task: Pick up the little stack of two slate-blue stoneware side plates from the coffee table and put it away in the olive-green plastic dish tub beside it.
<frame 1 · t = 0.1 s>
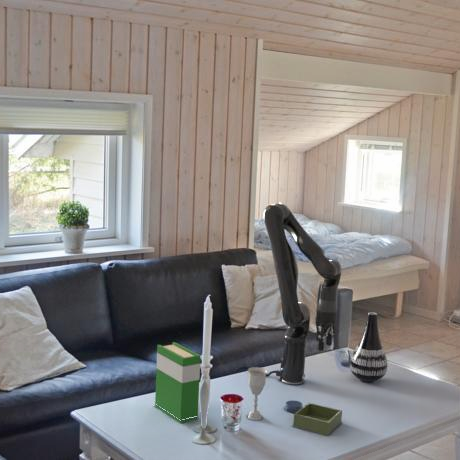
hand: (324, 347, 319), 17 cm above the table, tool pointing down, fingers open, 8 cm apart
tub: (317, 424, 284), on the table
vase: (367, 380, 333), on the table
hardback book: (175, 413, 288), on the table
chalice: (254, 417, 288), on the table
plates: (293, 409, 297), on the table
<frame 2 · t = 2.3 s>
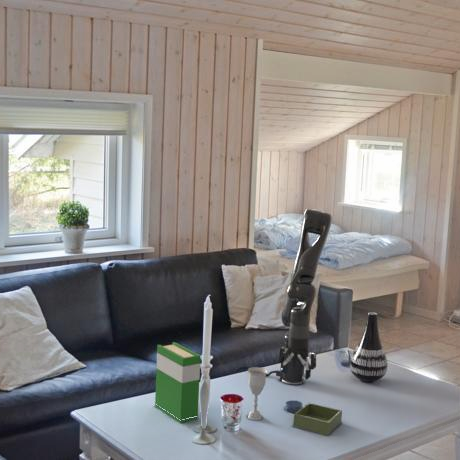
hand: (296, 376, 295), 13 cm above the table, tool pointing down, fingers open, 8 cm apart
nothing on the table moved.
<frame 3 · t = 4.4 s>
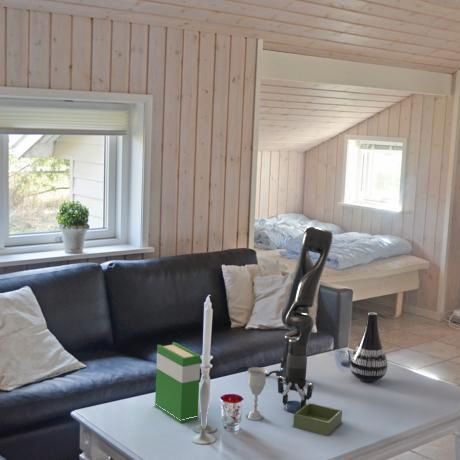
hand: (293, 406, 297), 1 cm above the table, tool pointing down, fingers closed on plates, 6 cm apart
plates: (293, 409, 297), on the table, touching gripper
everything else where it was.
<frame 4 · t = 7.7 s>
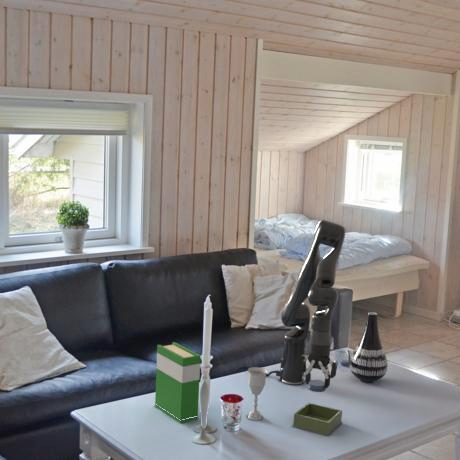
hand: (317, 385, 283), 14 cm above the table, tool pointing down, fingers closed on plates, 6 cm apart
plates: (316, 389, 283), point 13 cm above the table, touching gripper
everything else where it was.
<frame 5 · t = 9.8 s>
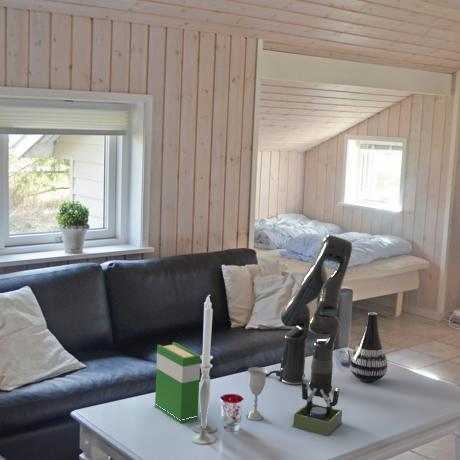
hand: (318, 413, 283), 4 cm above the table, tool pointing down, fingers closed on plates, 6 cm apart
plates: (318, 416, 283), point 3 cm above the table, touching gripper
everything else where it was.
when the fingers open (2 cm above the table, at t = 11.2 s): plates stays where it is, resting on tub.
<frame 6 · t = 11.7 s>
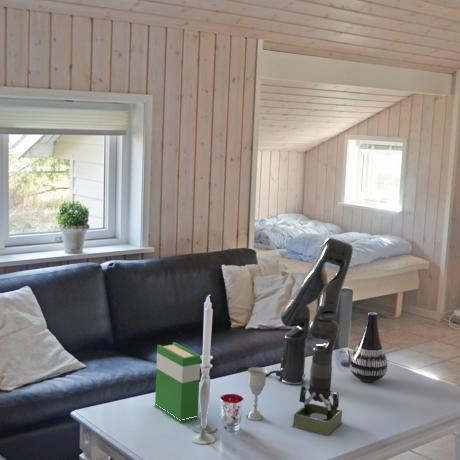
hand: (317, 416, 283), 3 cm above the table, tool pointing down, fingers open, 8 cm apart
plates: (317, 422, 284), point 1 cm above the table, touching tub
everything else where it was.
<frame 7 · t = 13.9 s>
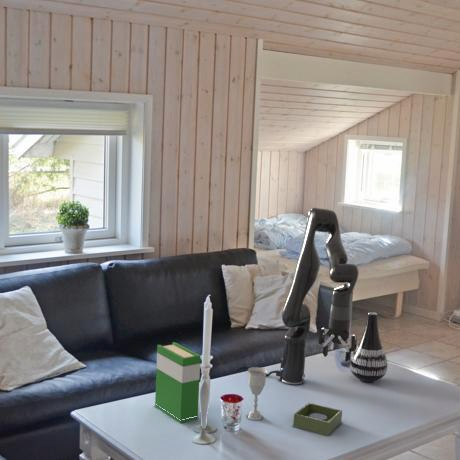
hand: (336, 358, 291), 22 cm above the table, tool pointing down, fingers open, 8 cm apart
nothing on the table moved.
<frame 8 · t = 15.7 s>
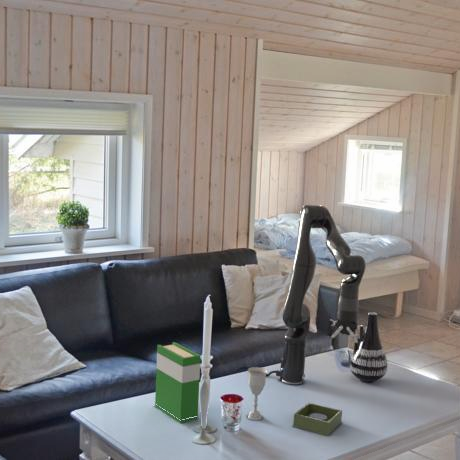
hand: (344, 349, 295), 24 cm above the table, tool pointing down, fingers open, 8 cm apart
nothing on the table moved.
at the end: plates inside the target area in the tub (0.1 cm from its centre), point 0.8 cm above the tub's base; plates tilted 0°; the gripper is holding nothing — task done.
